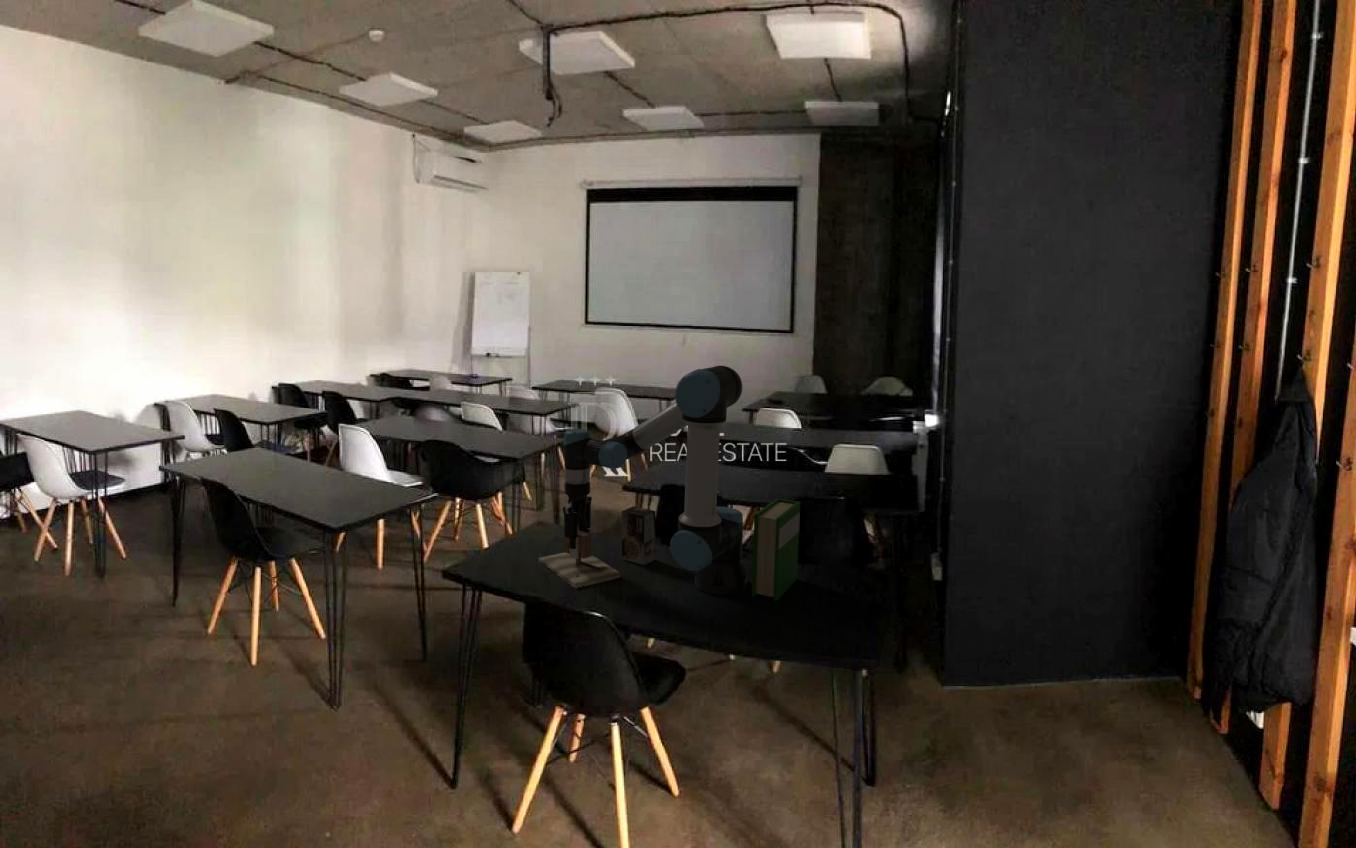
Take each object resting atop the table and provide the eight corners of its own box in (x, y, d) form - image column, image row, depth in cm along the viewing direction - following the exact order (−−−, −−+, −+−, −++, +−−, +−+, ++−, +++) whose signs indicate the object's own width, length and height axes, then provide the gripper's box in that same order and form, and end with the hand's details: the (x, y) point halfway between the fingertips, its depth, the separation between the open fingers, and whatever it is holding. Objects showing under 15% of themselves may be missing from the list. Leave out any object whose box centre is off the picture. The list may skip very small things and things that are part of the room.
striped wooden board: (620, 577, 228) (620, 571, 228) (575, 588, 220) (575, 582, 219) (581, 553, 248) (581, 547, 247) (538, 562, 239) (538, 557, 239)
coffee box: (656, 559, 243) (656, 510, 240) (644, 565, 238) (644, 515, 234) (632, 553, 248) (633, 505, 245) (620, 559, 242) (620, 510, 239)
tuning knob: (565, 562, 235) (565, 530, 233) (572, 559, 237) (572, 528, 235) (595, 572, 227) (595, 539, 225) (602, 569, 229) (602, 537, 227)
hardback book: (776, 601, 213) (779, 518, 209) (751, 595, 217) (754, 514, 212) (796, 579, 229) (800, 501, 224) (773, 574, 232) (776, 498, 227)
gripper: (580, 472, 237) (581, 544, 242) (551, 486, 222) (552, 563, 226) (602, 475, 235) (602, 548, 239) (573, 489, 219) (574, 567, 224)
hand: (578, 555), depth 233 cm, fingers closed on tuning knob, 4 cm apart
